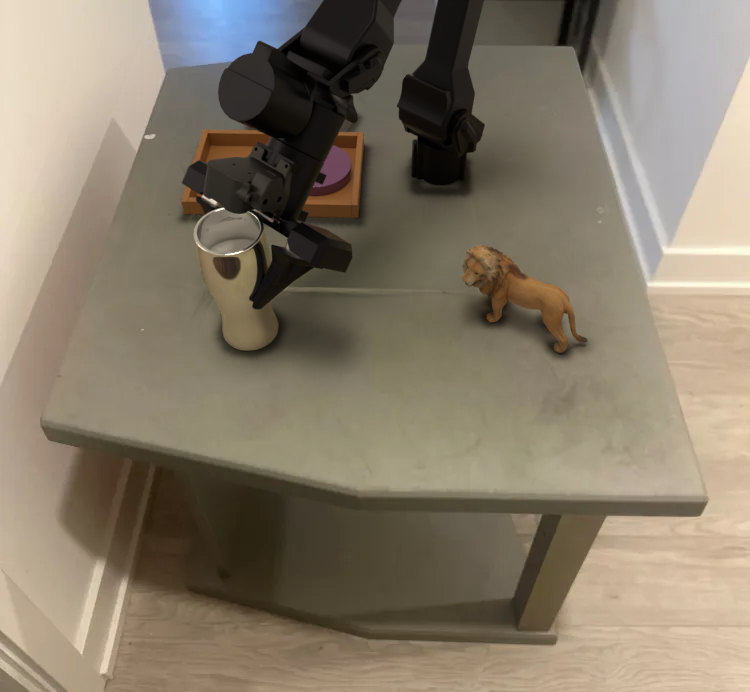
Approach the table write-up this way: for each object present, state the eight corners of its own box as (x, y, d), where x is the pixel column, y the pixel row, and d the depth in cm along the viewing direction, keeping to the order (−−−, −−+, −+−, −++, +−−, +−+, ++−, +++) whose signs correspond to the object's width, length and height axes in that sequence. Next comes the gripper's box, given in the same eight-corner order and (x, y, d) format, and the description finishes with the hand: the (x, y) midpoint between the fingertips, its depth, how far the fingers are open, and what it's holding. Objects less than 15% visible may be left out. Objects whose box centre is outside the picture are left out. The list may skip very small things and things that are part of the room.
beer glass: (272, 359, 79) (253, 261, 67) (210, 349, 79) (180, 250, 67) (290, 309, 83) (274, 209, 71) (230, 300, 84) (205, 200, 72)
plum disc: (353, 152, 99) (353, 143, 98) (349, 197, 93) (349, 187, 92) (286, 151, 99) (285, 142, 98) (278, 195, 94) (277, 186, 93)
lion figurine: (449, 318, 82) (456, 261, 75) (466, 286, 85) (474, 228, 78) (580, 361, 78) (599, 305, 71) (592, 326, 81) (612, 269, 74)
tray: (363, 149, 101) (363, 132, 99) (358, 222, 92) (357, 205, 90) (206, 146, 101) (202, 129, 99) (185, 218, 92) (180, 201, 90)
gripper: (175, 87, 68) (112, 239, 71) (325, 170, 60) (246, 336, 64) (249, 121, 78) (190, 253, 81) (386, 196, 70) (315, 338, 74)
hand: (231, 291), depth 75 cm, fingers closed on beer glass, 7 cm apart
